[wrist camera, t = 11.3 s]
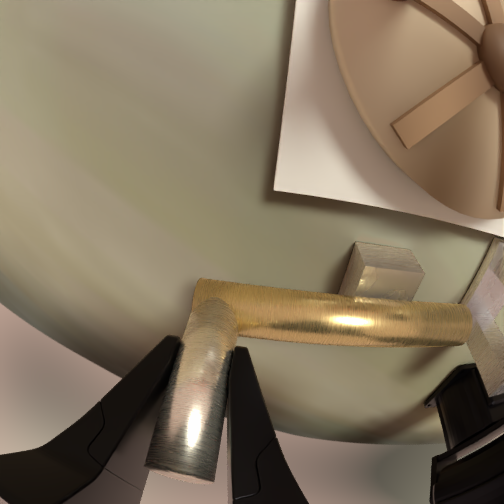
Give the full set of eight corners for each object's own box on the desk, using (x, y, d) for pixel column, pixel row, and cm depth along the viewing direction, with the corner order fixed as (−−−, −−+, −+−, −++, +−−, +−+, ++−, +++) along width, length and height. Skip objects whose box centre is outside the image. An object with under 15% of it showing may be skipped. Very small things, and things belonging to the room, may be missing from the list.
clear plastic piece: (480, 327, 15) (511, 393, 10) (326, 323, 15) (337, 421, 10) (527, 246, 11) (578, 308, 6) (365, 207, 11) (419, 304, 6)
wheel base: (519, 236, 11) (528, 244, 10) (273, 181, 11) (273, 190, 10) (552, 16, 3) (563, 17, 2) (305, -112, 3) (307, -122, 2)
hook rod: (443, 325, 12) (488, 453, 6) (201, 304, 12) (153, 474, 6) (461, 295, 11) (522, 429, 4) (200, 267, 11) (135, 458, 5)
